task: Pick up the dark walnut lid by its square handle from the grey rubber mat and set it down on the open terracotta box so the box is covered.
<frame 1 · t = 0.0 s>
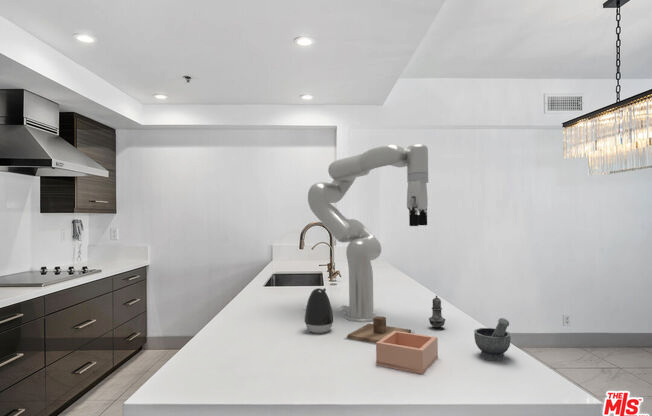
hand: (418, 225, 145), 37 cm above the worktop, fingers open, 9 cm apart
walnut lid: (379, 335, 133), resting on rubber mat
dark stone chess piece: (437, 329, 141), on the worktop
dark grey egg shape: (319, 332, 140), on the worktop
rubber mat: (379, 336, 133), on the worktop
open terracotta box: (407, 361, 110), on the worktop
mortar and pestle: (494, 358, 112), on the worktop
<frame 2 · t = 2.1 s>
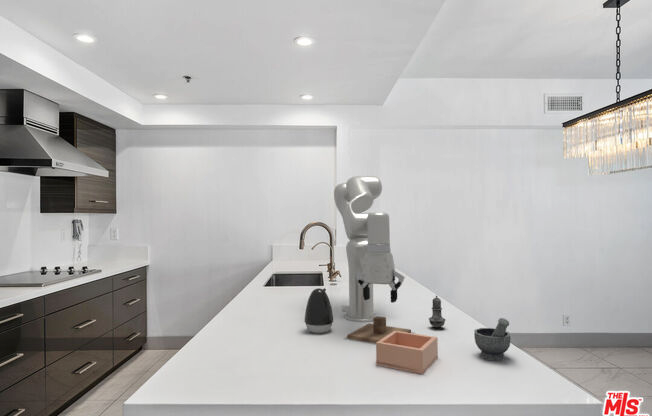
hand: (380, 300, 133), 12 cm above the worktop, fingers open, 9 cm apart
nothing on the worktop moved.
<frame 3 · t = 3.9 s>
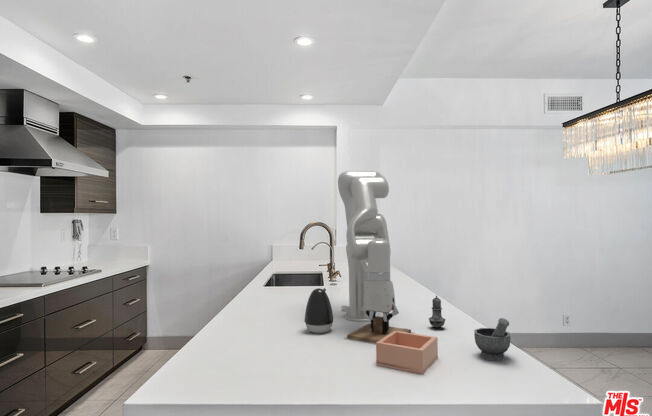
hand: (379, 331, 133), 2 cm above the worktop, fingers closed on walnut lid, 3 cm apart
walnut lid: (379, 335, 133), resting on rubber mat, touching gripper
everything else where it was.
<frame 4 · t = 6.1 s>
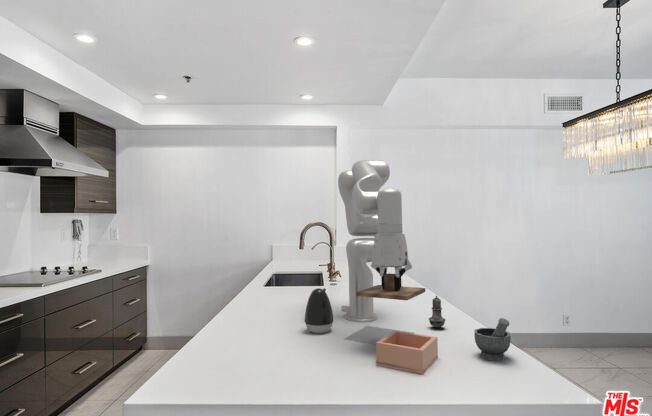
hand: (391, 288, 122), 18 cm above the worktop, fingers closed on walnut lid, 3 cm apart
walnut lid: (391, 293, 122), point 17 cm above the worktop, touching gripper
everything else where it was.
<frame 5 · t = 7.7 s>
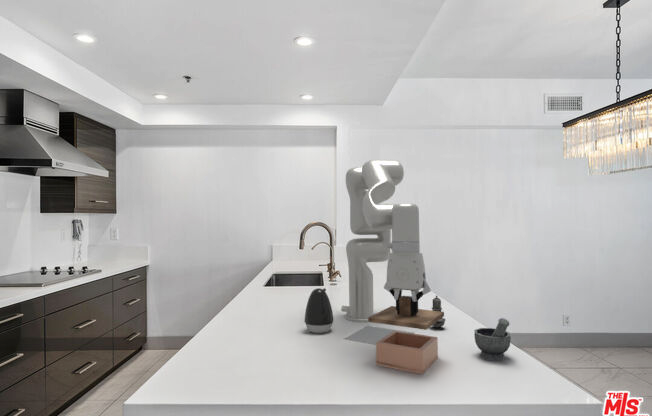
hand: (407, 313, 110), 13 cm above the worktop, fingers closed on walnut lid, 3 cm apart
walnut lid: (407, 318, 110), point 12 cm above the worktop, touching gripper
everything else where it was.
when the fingers open (9 cm above the worktop, at t = 8.7 s): walnut lid drops 1 cm, resting on open terracotta box.
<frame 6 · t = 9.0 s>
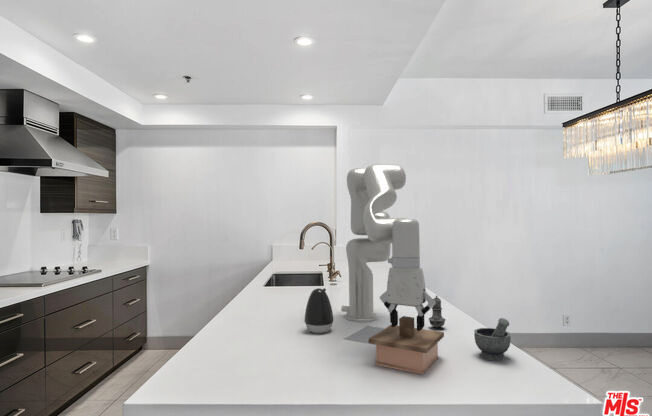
hand: (407, 327, 110), 9 cm above the worktop, fingers open, 6 cm apart
walnut lid: (407, 339, 110), point 6 cm above the worktop, touching open terracotta box
everything else where it was.
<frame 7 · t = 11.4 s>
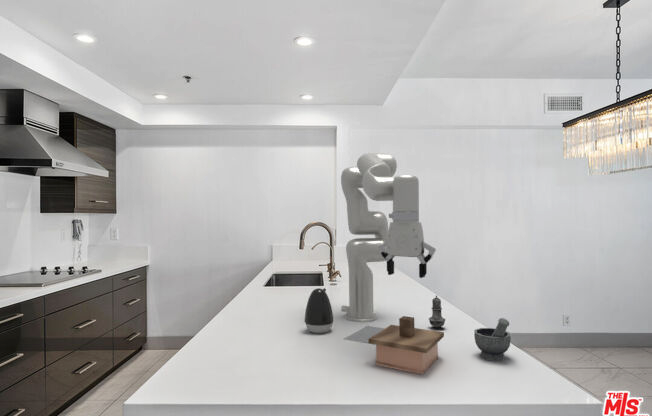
hand: (406, 275, 117), 23 cm above the worktop, fingers open, 9 cm apart
nothing on the worktop moved.
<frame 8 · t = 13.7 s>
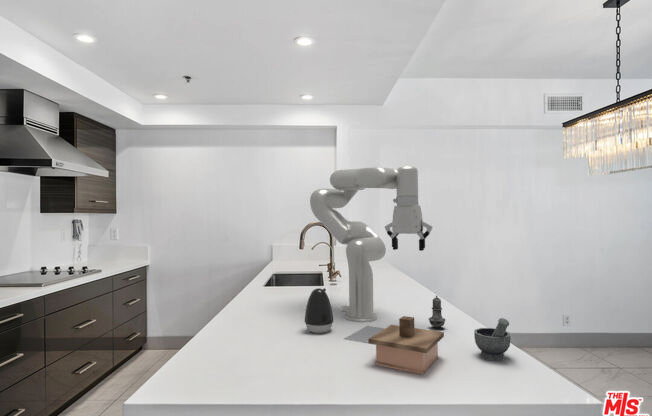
hand: (408, 249, 141), 28 cm above the worktop, fingers open, 9 cm apart
nothing on the worktop moved.
at the end: walnut lid 0.1 cm off-centre on the open terracotta box, point 6.0 cm above the open terracotta box's base; walnut lid tilted 0°; the gripper is holding nothing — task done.
